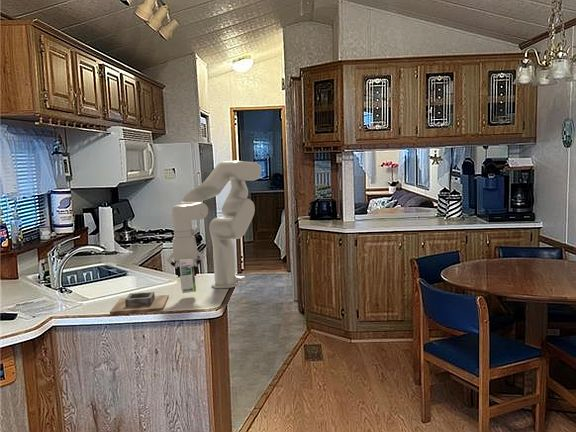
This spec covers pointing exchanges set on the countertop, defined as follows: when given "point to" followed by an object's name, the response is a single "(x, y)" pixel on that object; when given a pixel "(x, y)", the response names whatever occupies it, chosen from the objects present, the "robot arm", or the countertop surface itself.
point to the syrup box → (187, 275)
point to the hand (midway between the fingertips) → (187, 275)
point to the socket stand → (140, 303)
